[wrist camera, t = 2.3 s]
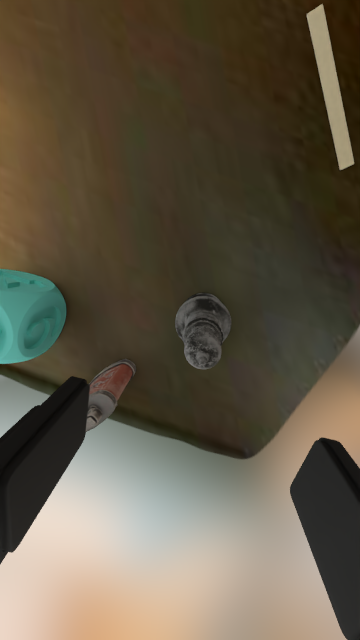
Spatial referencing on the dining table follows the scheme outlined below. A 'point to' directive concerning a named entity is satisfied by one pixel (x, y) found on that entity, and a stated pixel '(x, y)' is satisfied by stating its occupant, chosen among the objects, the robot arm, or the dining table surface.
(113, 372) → the lighter
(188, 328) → the dark grey chess piece
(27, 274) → the decorative dice
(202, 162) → the dining table surface
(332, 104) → the beige long thin bar
